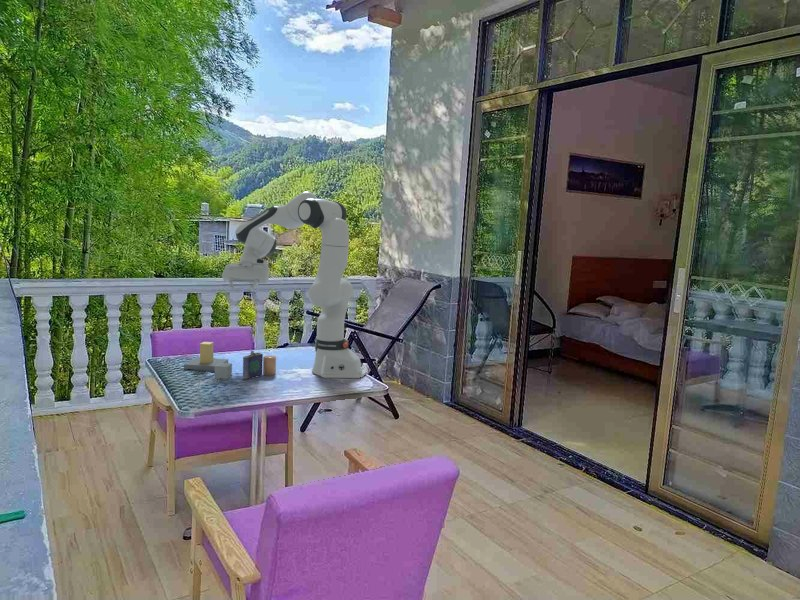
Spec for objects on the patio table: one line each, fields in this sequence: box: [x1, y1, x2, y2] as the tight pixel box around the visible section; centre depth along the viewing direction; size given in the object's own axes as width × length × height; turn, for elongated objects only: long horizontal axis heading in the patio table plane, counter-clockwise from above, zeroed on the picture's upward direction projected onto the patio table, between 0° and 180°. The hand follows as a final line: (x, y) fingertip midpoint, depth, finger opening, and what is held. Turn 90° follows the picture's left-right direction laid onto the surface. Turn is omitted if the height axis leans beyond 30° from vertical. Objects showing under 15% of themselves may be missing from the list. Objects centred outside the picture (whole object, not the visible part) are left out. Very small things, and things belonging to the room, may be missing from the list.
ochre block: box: [199, 341, 214, 363], centre depth 230 cm, size 4×4×8 cm
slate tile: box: [183, 356, 229, 372], centre depth 230 cm, size 14×12×2 cm
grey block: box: [214, 362, 233, 380], centre depth 217 cm, size 5×5×5 cm
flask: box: [242, 349, 264, 381], centre depth 218 cm, size 9×3×11 cm, turn 146°
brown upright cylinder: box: [262, 355, 277, 376], centre depth 224 cm, size 5×5×7 cm
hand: (241, 288), depth 242 cm, fingers open, 8 cm apart
